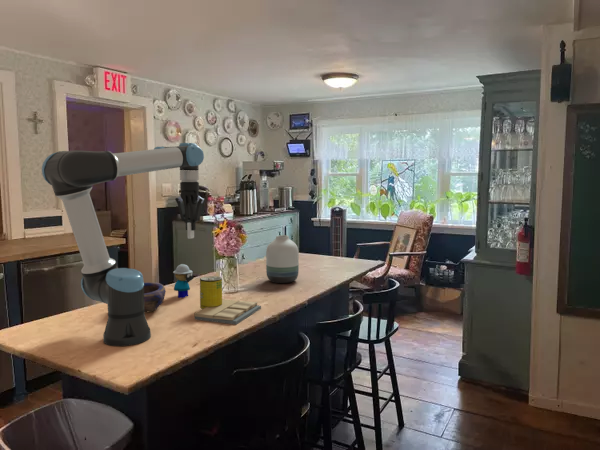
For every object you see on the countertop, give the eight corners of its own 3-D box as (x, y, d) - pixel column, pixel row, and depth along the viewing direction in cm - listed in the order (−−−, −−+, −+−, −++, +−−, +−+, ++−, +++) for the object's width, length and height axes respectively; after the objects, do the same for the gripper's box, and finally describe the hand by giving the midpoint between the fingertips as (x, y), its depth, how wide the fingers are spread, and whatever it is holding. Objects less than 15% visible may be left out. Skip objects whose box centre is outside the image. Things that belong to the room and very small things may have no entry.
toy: (188, 299, 207) (187, 266, 206) (170, 298, 209) (169, 265, 207) (196, 294, 216) (195, 262, 214) (178, 293, 217) (178, 262, 216)
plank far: (246, 311, 184) (246, 308, 184) (228, 309, 187) (228, 307, 187) (257, 304, 194) (257, 302, 194) (240, 303, 197) (240, 300, 196)
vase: (262, 284, 236) (261, 237, 234) (271, 276, 253) (271, 233, 250) (294, 286, 232) (294, 238, 230) (301, 278, 249) (302, 234, 246)
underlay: (236, 324, 173) (236, 318, 173) (194, 319, 179) (194, 313, 179) (260, 308, 193) (260, 302, 193) (222, 304, 199) (222, 298, 199)
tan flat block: (232, 320, 173) (232, 317, 173) (213, 318, 176) (213, 315, 176) (244, 312, 183) (244, 310, 182) (226, 311, 185) (226, 308, 185)
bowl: (117, 318, 179) (116, 293, 178) (122, 306, 197) (121, 283, 195) (165, 315, 184) (165, 290, 183) (166, 303, 201) (165, 280, 200)
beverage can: (220, 303, 197) (220, 275, 196) (223, 308, 188) (223, 279, 187) (198, 305, 194) (198, 276, 193) (201, 310, 185) (201, 281, 184)
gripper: (208, 181, 191) (209, 237, 193) (181, 181, 195) (182, 236, 198) (198, 181, 184) (199, 240, 186) (170, 181, 188) (172, 238, 191)
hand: (190, 238), depth 192 cm, fingers closed
